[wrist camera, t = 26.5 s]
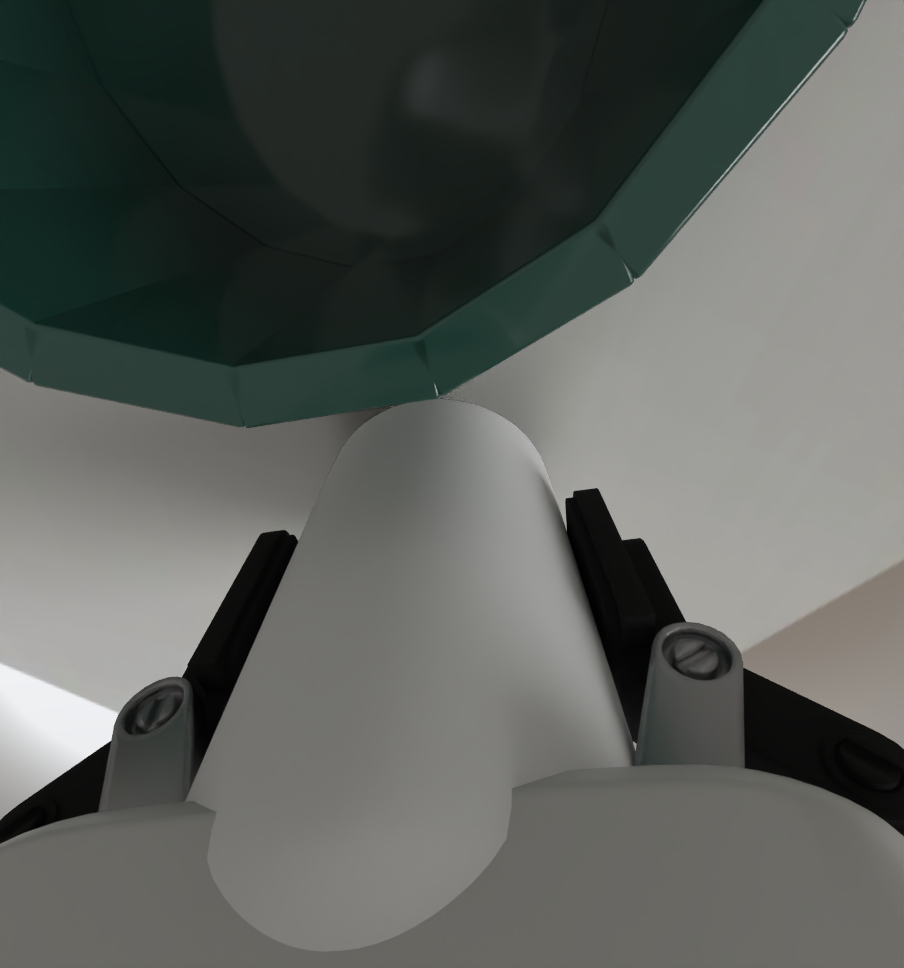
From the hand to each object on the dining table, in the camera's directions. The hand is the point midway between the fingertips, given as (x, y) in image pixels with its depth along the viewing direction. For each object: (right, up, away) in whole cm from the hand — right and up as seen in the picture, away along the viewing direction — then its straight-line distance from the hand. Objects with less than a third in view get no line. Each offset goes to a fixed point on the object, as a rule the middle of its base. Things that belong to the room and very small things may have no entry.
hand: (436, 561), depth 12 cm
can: (0, +2, +3) cm, 3 cm away
